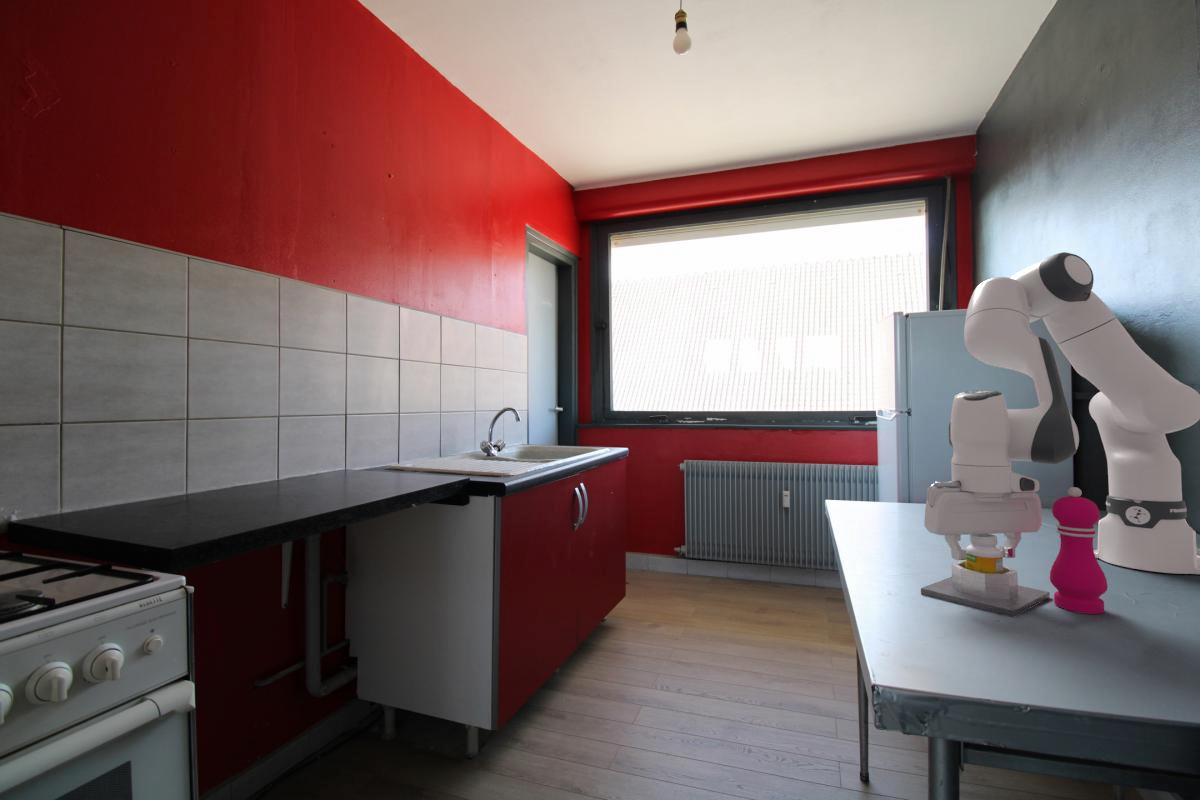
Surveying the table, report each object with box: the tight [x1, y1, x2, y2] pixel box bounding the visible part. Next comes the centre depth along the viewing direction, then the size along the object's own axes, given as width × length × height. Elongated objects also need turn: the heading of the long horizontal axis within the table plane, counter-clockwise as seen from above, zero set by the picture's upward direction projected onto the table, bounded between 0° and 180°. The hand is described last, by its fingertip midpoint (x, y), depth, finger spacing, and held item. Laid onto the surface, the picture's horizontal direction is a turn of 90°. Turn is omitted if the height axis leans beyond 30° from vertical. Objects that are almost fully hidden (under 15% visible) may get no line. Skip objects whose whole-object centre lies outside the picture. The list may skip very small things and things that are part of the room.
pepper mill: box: [1049, 486, 1108, 615], centre depth 90 cm, size 7×7×20 cm
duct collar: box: [920, 560, 1051, 618], centre depth 96 cm, size 16×14×5 cm
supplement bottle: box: [965, 534, 1004, 574], centre depth 97 cm, size 5×5×10 cm
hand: (983, 558), depth 97 cm, fingers open, 8 cm apart
